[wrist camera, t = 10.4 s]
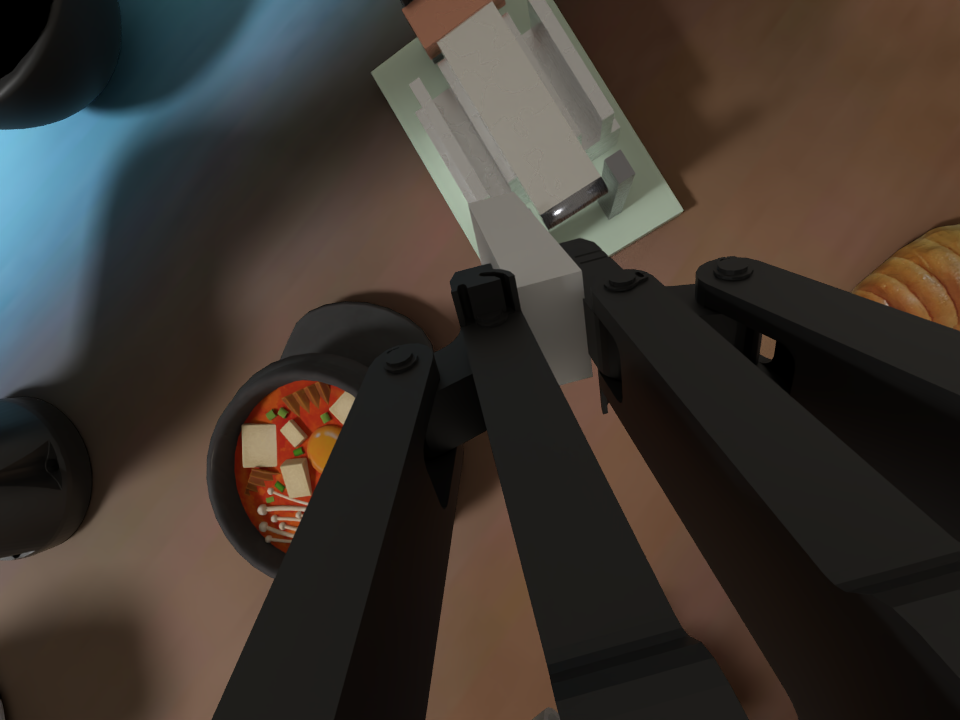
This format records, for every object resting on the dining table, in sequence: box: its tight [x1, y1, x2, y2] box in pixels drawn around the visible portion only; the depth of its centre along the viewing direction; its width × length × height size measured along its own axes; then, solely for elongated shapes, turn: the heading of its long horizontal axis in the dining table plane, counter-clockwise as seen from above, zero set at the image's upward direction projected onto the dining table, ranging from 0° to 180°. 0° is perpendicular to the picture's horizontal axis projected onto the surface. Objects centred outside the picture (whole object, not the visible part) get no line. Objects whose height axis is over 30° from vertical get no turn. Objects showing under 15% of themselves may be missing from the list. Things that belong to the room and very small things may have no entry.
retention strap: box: [402, 0, 609, 230], centre depth 29 cm, size 17×6×1 cm, turn 31°
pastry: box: [851, 224, 960, 331], centre depth 31 cm, size 9×7×4 cm
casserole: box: [207, 301, 433, 579], centre depth 37 cm, size 25×19×8 cm
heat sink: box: [400, 0, 636, 220], centre depth 32 cm, size 19×11×8 cm, turn 31°
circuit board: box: [371, 0, 684, 258], centre depth 37 cm, size 22×14×1 cm, turn 31°
